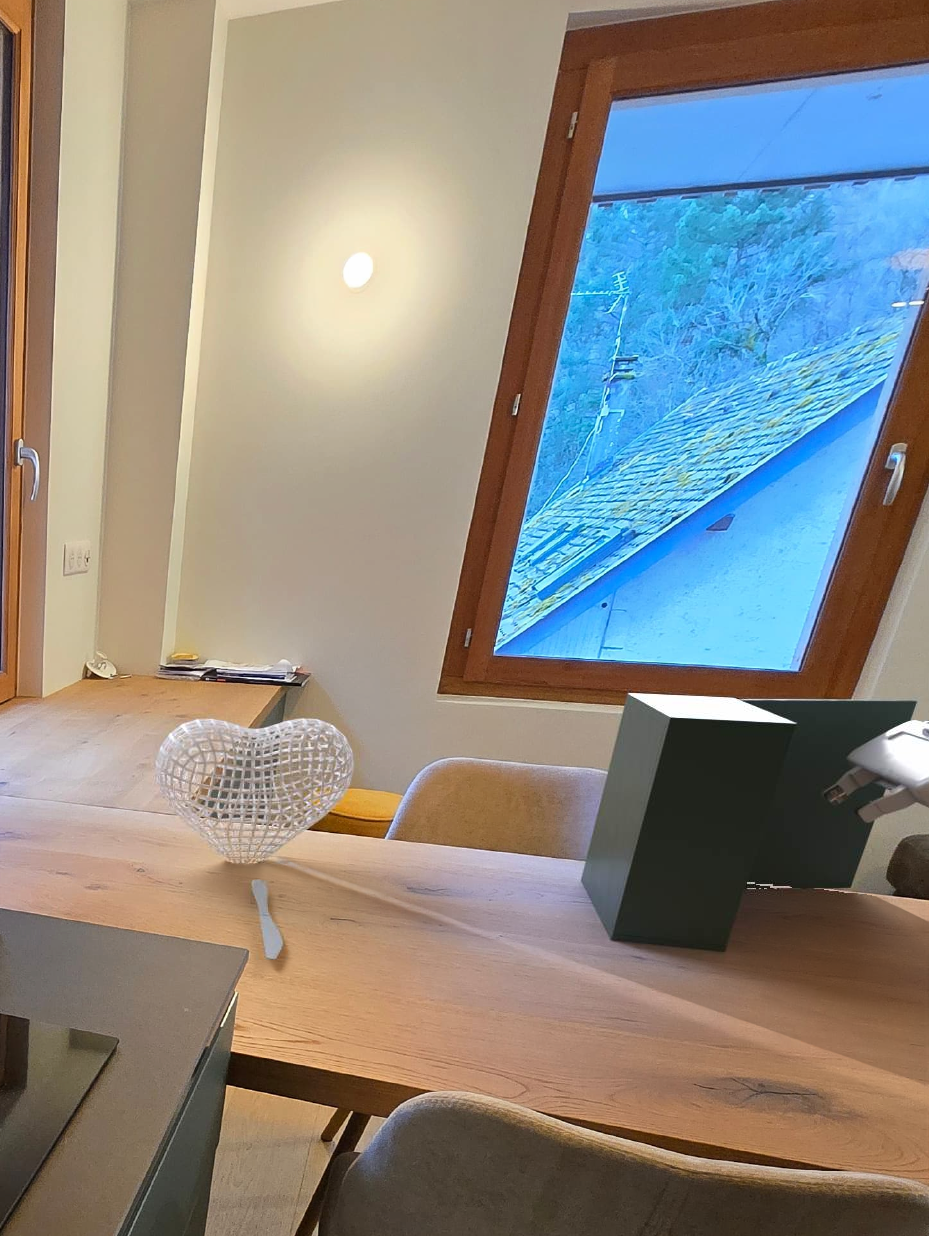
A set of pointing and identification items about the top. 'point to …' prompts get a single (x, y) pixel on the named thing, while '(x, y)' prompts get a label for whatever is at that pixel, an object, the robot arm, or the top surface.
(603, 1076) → the top surface
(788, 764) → the cupboard door
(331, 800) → the heart
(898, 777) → the robot arm
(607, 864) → the cupboard
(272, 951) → the butter knife
